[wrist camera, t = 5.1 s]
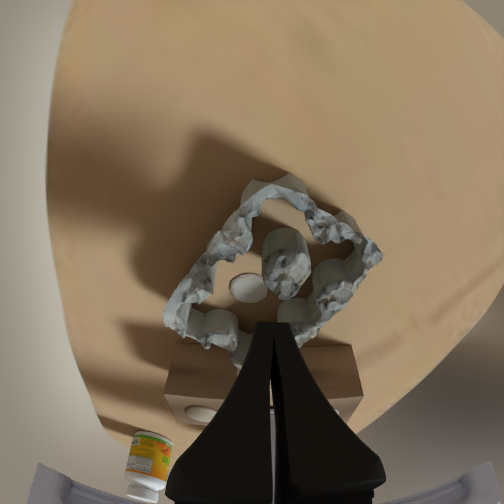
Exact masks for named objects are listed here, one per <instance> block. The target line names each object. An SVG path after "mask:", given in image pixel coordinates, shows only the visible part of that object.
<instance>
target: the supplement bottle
mask: <svg viewBox="0 0 504 504" xmlns="http://www.w3.org/2000/svg"><path fill="white" fill-rule="evenodd" d="M171 451H172V442H171V441H170V440H169V439H168V438H166V437H164V436H162V435H159V434H156V433H152V432H147V431H138V432H136V433H135V434H134V437H133V441H132V445H131V449H130V454H129V458H128V462H127V467H126V471H125V478H126V479H127V480H128V481H129V482H130V486H128V488H127V493H126V494H127V495H128V496H130V497H133V498H136V499H139V500H143V501H147V502H152V503H157V501H158V495H159V494H158V493H157V491H158V490H161V489H163V488H164V487H165V485H166V480H167V474H168V468H169V462H170V456H171Z"/></svg>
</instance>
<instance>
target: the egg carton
mask: <svg viewBox="0 0 504 504" xmlns="http://www.w3.org/2000/svg"><path fill="white" fill-rule="evenodd" d="M279 197H283V198H284V199H286V200H287V201H289V202H290V203H291V204H292V205H293V206H294V207H295V208H296V209H297V210H299V211H304V214H305V217H306V218H305V221H306V222H307V224H308V225H309V227H310V230H311V232H312V235H313V237H314V238H315V239H316V240H317V241H319V242H320V243H321V244H326V243H328V242H329V240H331V241H333V242H334V243H341V242H342V241H344V240H345V239H350V240H352V242H353V245H354V247H355V249H354V250H353V252H352V253H351V254H350V255H349V256H348V257H347V258H346V259H345V260H342V259H338V258H331V259H326V260H324V261H322V262H321V263H319V264H318V265H317V266H316V267H315V268H314V270H313V273H312V284H313V289H314V290H313V291H312V293H311V294H310V296H309V297H308V298H307V299H304V298H298V297H297V298H292V297H294V296H295V295H296V294H297V292H298V291H299V289H300V287H301V285H302V284H303V283H304V282H305V280H306V279H307V278H308V276H309V275H310V274H311V262H310V257H309V253H308V249H307V245H306V241H307V240H306V239H305V238H304V237H303V236H302V234H301V233H300V232H299V231H297V230H295V229H293V228H287V227H283V228H277V229H274V230H272V231H271V232H269V233H268V234H267V235H266V237H265V238H264V241H263V245H262V276H261V275H258V274H255V273H245V274H241V275H239V276H237V277H235V278H234V279H233V280H232V282H231V284H230V292H231V294H232V296H233V297H234V298H235V299H236V300H238V301H241V302H243V303H256V302H259V301H261V300H262V299H264V298H265V297H266V295H267V294H268V292H269V289H270V290H271V291H273V292H274V293H275V294H277V296H278V298H279V299H282V300H285V301H284V302H282V303H281V304H280V306H279V307H278V310H277V322H288V323H289V324H291V328H292V332H293V335H294V337H295V340H296V343H297V345H298V347H299V348H300V347H301V346H302V345H303V344H304V343H306V342H307V341H309V340H311V339H313V338H314V337H315V336H316V335H317V334H318V332H319V329H320V328H321V327H322V326H323V325H324V324H325V323H326V322H328V321H329V319H330V318H331V317H332V316H333V315H334V314H336V313H337V312H339V311H340V310H342V309H343V308H344V307H345V305H346V304H347V303H348V301H349V300H350V299H351V297H352V296H353V295H354V293H355V292H356V290H357V288H358V286H359V284H360V283H361V282H362V281H363V280H364V279H365V277H366V275H367V273H368V271H369V269H370V268H371V267H373V266H375V265H377V264H378V263H379V262H380V261H381V260H382V259H383V256H384V254H383V253H382V252H381V251H380V250H379V249H378V247H377V245H376V244H375V243H374V242H373V241H372V240H371V239H369V238H368V237H365V236H364V235H363V233H362V232H361V230H360V229H359V227H358V225H357V223H356V220H355V219H354V218H353V217H352V216H350V215H349V214H347V213H346V212H345V211H340V212H339V213H337V214H336V215H334V216H332V215H331V214H329V213H327V212H325V211H323V210H321V209H318V208H317V206H316V205H315V202H314V201H313V200H312V199H311V198H310V197H309V196H308V193H307V190H306V187H305V184H304V182H303V181H301V180H300V179H298V178H297V177H295V176H294V175H293V174H290V173H287V174H286V175H285V176H284V177H282V178H280V179H278V180H276V181H273V182H262V181H258V180H255V179H252V180H251V181H250V182H249V184H248V185H247V187H246V188H245V190H244V191H243V193H242V197H241V205H240V207H239V208H238V209H237V210H236V211H234V212H233V213H232V215H231V216H230V217H229V218H228V220H227V221H226V222H225V224H224V226H223V228H222V229H221V230H218V232H216V233H215V234H214V235H213V237H212V239H211V240H210V241H209V243H208V246H207V249H206V252H204V253H203V254H202V255H201V256H200V257H199V258H198V260H197V261H196V263H195V264H194V265H193V267H192V268H191V269H190V271H189V272H188V273H187V275H186V276H185V277H184V278H183V279H182V281H181V282H180V283H179V284H178V286H177V287H176V289H175V290H174V292H173V294H172V296H171V298H170V299H169V301H168V303H167V305H166V307H165V309H164V311H163V313H162V318H163V321H164V324H165V326H167V327H169V328H171V329H173V330H174V331H176V332H177V333H178V334H179V335H180V336H181V337H182V338H185V336H187V337H191V338H193V339H195V340H197V341H198V342H199V343H200V344H201V346H202V347H203V348H204V349H209V348H210V343H213V344H215V345H217V346H220V347H222V348H225V349H227V350H228V351H229V357H230V360H231V362H232V363H233V365H235V366H236V367H238V368H239V369H241V368H242V365H243V363H244V360H245V358H246V355H247V353H248V350H249V347H250V344H251V340H252V337H253V333H251V334H247V333H245V332H243V331H241V330H239V329H238V325H239V320H238V318H237V316H236V315H235V314H234V313H232V312H230V311H228V310H224V309H213V310H210V311H208V312H207V313H201V312H200V311H198V310H196V309H194V308H193V307H192V306H191V305H192V303H197V304H200V303H201V302H202V301H204V300H206V299H207V298H208V297H209V295H210V294H213V287H214V282H215V277H216V272H217V265H218V261H219V260H226V261H227V262H232V263H233V262H234V261H235V259H236V258H237V256H238V255H240V254H241V255H244V254H245V252H247V251H248V250H249V249H250V247H251V244H252V239H253V236H252V233H251V226H252V217H254V216H255V217H257V216H258V215H259V213H260V206H261V204H262V202H263V201H264V200H265V199H268V198H271V199H276V198H279ZM305 240H306V241H305ZM307 242H308V241H307ZM308 243H309V242H308ZM309 244H310V243H309ZM290 298H291V299H290Z"/></svg>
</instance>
